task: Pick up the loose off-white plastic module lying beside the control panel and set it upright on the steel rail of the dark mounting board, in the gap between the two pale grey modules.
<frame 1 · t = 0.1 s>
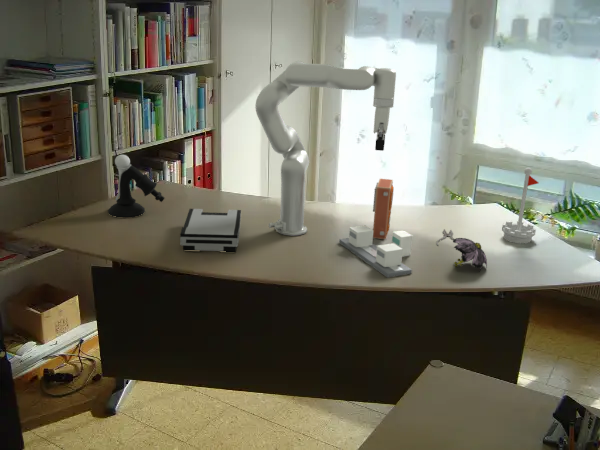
hand: (379, 147, 264), 37 cm above the table, tool pointing down, fingers open, 9 cm apart
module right: (388, 255, 247), on the din rail, point 5 cm above the table
game console: (212, 240, 269), on the table
flag stand: (517, 239, 283), on the table
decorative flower: (467, 267, 253), on the table
module left: (360, 236, 264), on the din rail, point 5 cm above the table
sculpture: (136, 212, 294), on the table
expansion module: (400, 253, 263), on the table
rail board: (373, 257, 258), on the table
din rail: (373, 253, 257), on the rail board, point 2 cm above the table
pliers: (444, 240, 280), on the table
control panel: (380, 233, 282), on the table
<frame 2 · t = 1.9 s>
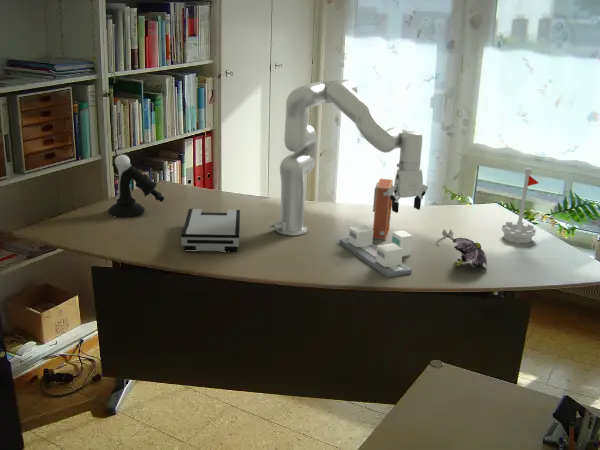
hand: (405, 210, 256), 17 cm above the table, tool pointing down, fingers open, 9 cm apart
nothing on the table moved.
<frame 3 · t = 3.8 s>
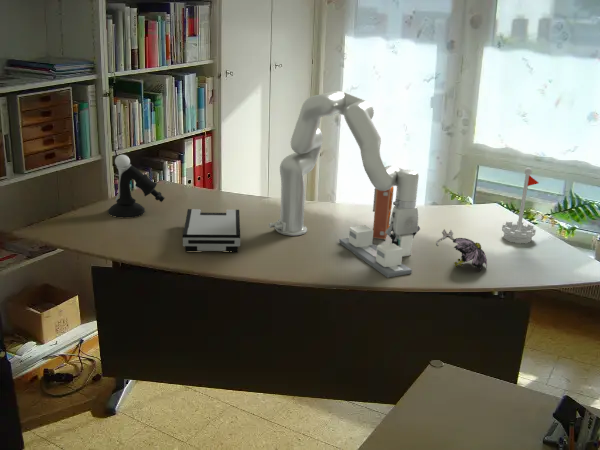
hand: (401, 248, 262), 2 cm above the table, tool pointing down, fingers closed on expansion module, 5 cm apart
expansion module: (401, 253, 263), on the table, touching gripper
everything else where it was.
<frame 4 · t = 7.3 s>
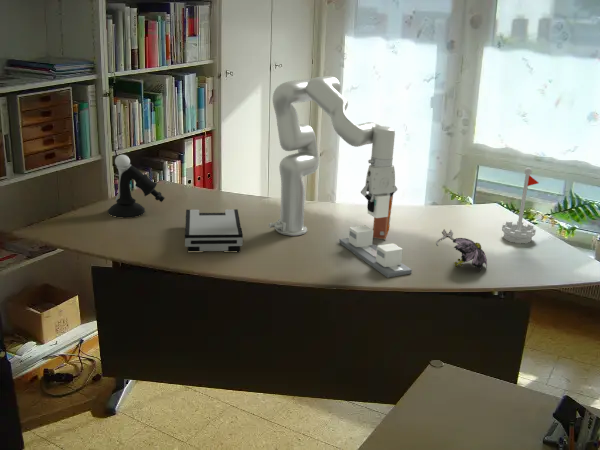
hand: (377, 209, 251), 19 cm above the table, tool pointing down, fingers closed on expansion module, 5 cm apart
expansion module: (377, 214, 252), point 17 cm above the table, touching gripper
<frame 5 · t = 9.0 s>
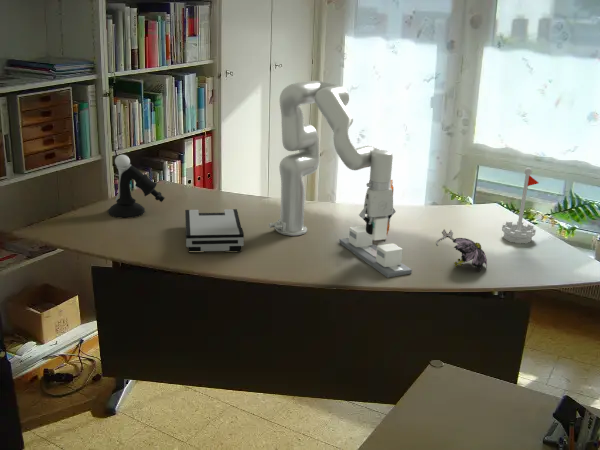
hand: (376, 231, 254), 10 cm above the table, tool pointing down, fingers closed on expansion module, 5 cm apart
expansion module: (376, 236, 255), point 8 cm above the table, touching gripper
when the fingers open (5 cm above the table, at t = 10.7 s): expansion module drops 1 cm, resting on din rail.
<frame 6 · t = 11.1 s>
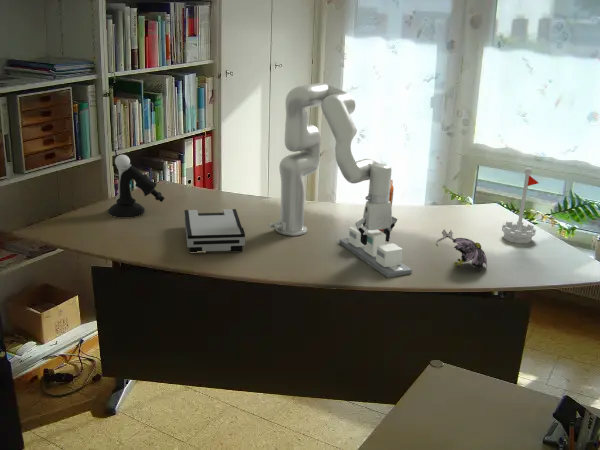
hand: (374, 242, 255), 6 cm above the table, tool pointing down, fingers open, 9 cm apart
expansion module: (374, 252, 257), point 2 cm above the table, touching din rail
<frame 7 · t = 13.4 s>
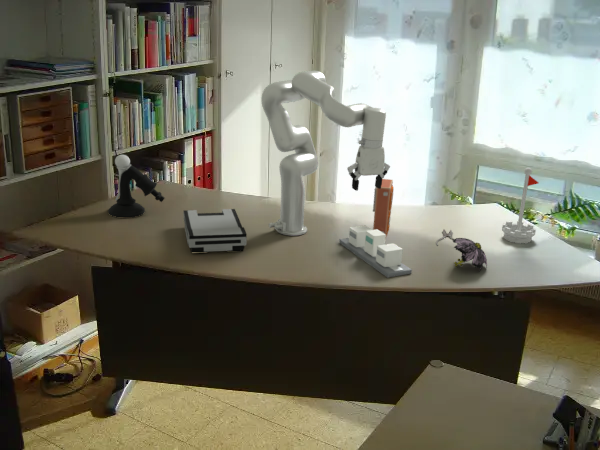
hand: (366, 188, 253), 25 cm above the table, tool pointing down, fingers open, 9 cm apart
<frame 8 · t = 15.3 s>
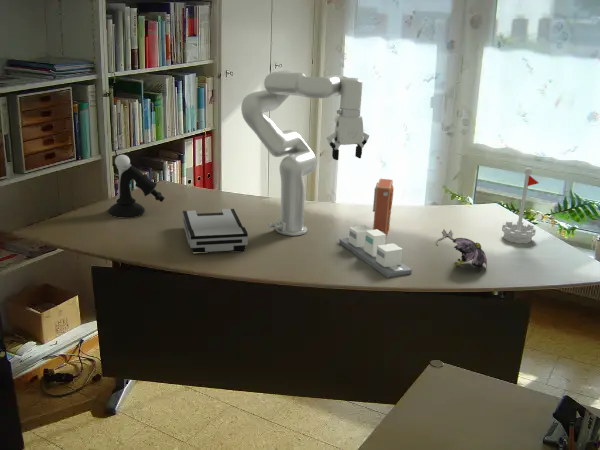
hand: (346, 158, 257), 34 cm above the table, tool pointing down, fingers open, 9 cm apart
at the end: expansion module 0.1 cm off-centre on the din rail, point 1.8 cm above the din rail's base; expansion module tilted 0°; the gripper is holding nothing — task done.
